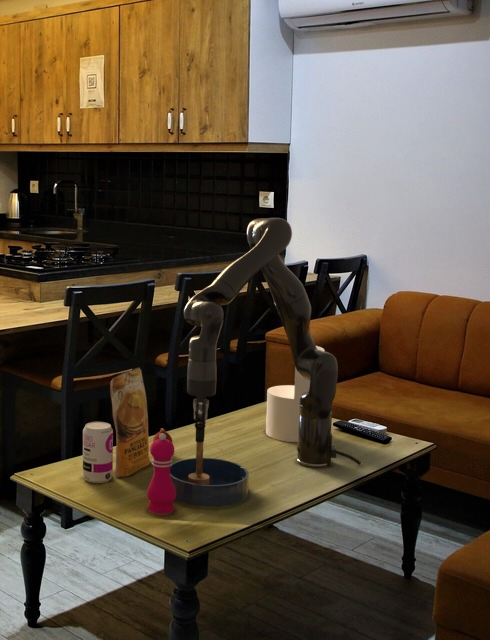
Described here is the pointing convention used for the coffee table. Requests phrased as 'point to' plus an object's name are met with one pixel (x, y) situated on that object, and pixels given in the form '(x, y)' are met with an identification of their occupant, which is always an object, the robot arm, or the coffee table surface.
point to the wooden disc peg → (199, 467)
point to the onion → (164, 433)
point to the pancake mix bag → (130, 422)
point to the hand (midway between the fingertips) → (199, 440)
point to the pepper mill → (161, 477)
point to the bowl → (210, 482)
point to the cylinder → (285, 408)
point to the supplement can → (97, 452)
